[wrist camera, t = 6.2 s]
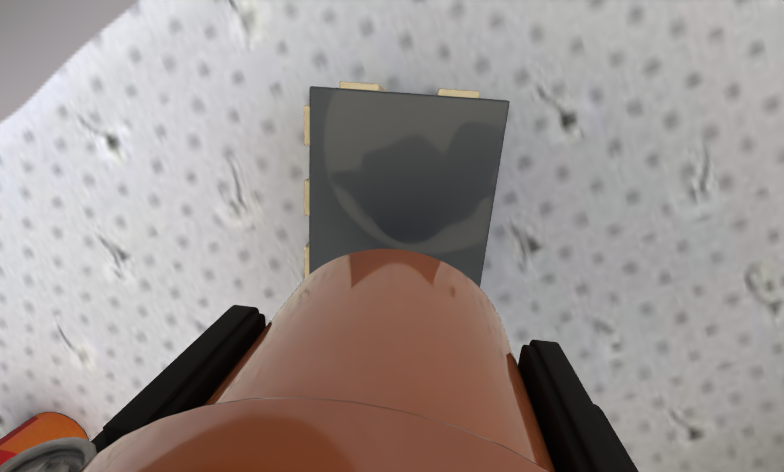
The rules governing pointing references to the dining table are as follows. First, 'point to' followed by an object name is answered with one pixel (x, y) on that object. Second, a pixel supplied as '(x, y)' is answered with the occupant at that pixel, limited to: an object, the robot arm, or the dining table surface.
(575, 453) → the robot arm
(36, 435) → the paper cup
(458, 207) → the dark grey striped block
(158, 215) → the dining table surface
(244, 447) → the terracotta pot
